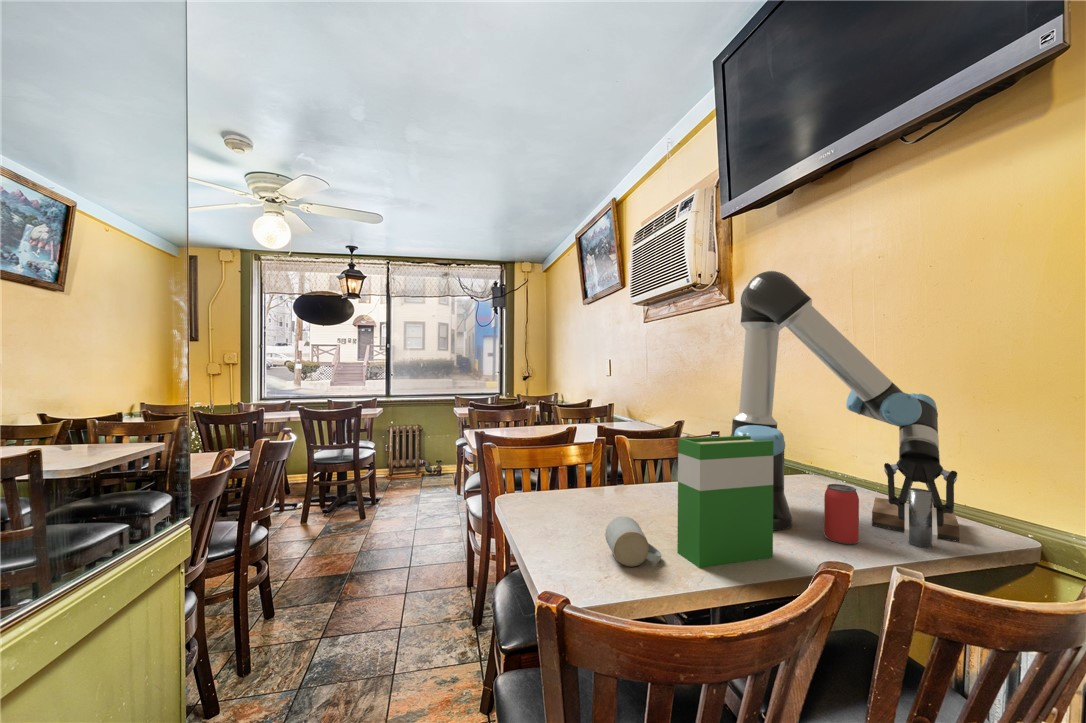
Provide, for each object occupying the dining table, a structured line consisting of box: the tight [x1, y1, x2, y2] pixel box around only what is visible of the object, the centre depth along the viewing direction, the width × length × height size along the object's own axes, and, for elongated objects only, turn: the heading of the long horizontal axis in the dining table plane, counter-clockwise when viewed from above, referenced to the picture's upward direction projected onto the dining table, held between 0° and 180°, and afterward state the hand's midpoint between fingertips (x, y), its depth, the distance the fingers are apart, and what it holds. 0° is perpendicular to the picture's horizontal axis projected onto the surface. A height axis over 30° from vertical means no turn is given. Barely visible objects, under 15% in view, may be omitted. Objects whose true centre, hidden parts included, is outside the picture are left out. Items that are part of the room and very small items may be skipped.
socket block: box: [871, 496, 960, 542], centre depth 114 cm, size 16×16×4 cm
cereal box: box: [676, 435, 774, 569], centre depth 94 cm, size 18×7×24 cm, turn 107°
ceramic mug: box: [604, 515, 662, 567], centre depth 92 cm, size 11×8×8 cm
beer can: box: [823, 483, 860, 545], centre depth 103 cm, size 7×7×12 cm
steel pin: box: [908, 487, 933, 549], centre depth 101 cm, size 4×4×12 cm
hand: (920, 535), depth 98 cm, fingers closed on steel pin, 4 cm apart
